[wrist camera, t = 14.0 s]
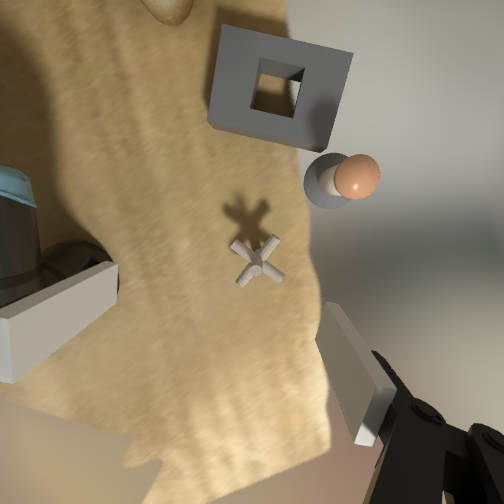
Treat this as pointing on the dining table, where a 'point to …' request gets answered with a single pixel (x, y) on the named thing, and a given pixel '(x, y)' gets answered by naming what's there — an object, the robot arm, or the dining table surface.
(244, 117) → the grey flat block
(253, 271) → the pipe connector
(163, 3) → the bread roll
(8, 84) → the dining table surface
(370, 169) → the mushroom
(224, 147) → the dining table surface
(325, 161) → the grey round plate
